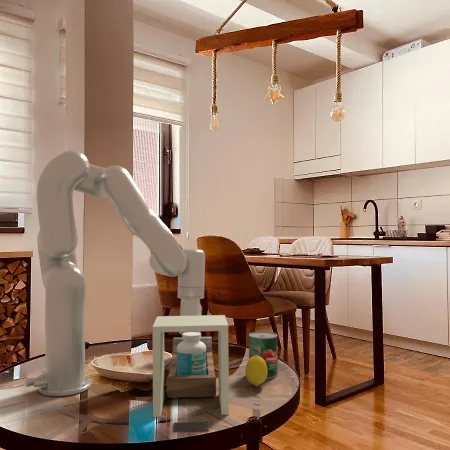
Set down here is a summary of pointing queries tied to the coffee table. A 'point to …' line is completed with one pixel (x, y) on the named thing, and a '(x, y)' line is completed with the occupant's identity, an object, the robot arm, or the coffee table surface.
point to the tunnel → (188, 325)
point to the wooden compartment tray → (193, 383)
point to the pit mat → (190, 426)
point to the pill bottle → (191, 355)
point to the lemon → (256, 370)
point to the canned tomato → (265, 350)
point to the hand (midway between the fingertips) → (189, 357)
